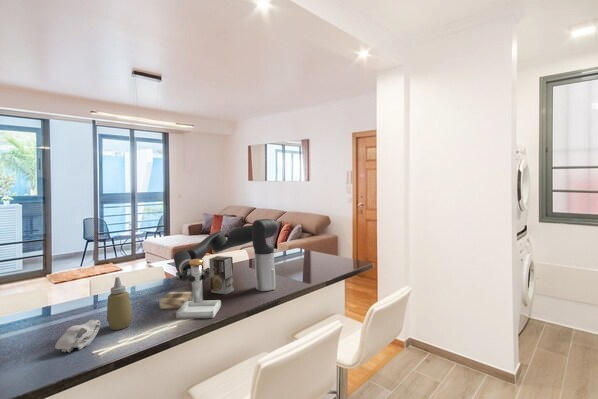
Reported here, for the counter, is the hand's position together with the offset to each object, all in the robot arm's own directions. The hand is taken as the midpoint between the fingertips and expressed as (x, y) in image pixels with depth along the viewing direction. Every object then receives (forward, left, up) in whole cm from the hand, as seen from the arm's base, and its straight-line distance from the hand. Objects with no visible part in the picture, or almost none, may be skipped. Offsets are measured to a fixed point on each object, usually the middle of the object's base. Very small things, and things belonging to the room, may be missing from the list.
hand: (198, 278), depth 127 cm
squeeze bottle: (+26, +10, -14) cm, 31 cm away
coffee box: (-2, -27, -14) cm, 31 cm away
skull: (+31, +24, -14) cm, 41 cm away
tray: (+1, -2, -14) cm, 14 cm away
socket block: (+14, -12, -14) cm, 23 cm away
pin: (+1, -2, -10) cm, 10 cm away
